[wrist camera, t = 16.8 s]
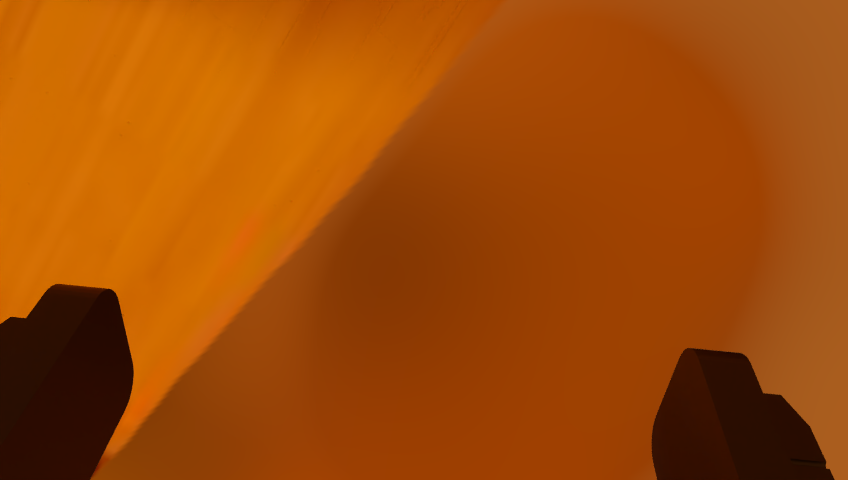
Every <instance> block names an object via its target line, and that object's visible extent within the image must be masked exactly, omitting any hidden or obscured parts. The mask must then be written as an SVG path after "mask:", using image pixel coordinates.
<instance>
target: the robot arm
mask: <svg viewBox="0 0 848 480" xmlns="http://www.w3.org/2000/svg"><path fill="white" fill-rule="evenodd" d="M133 374H134V371H133V362H132V358H131V353H130V349H129V344H128V340H127V336H126V331H125V327H124V322H123V318H122V314H121V309H120V305H119V301H118V297H117V295H116V293H115V292H114V291H113V290H111V289H105V288H95V287H84V286H74V285H64V284H55V285H53V286H51V287H50V288H49V289H48V290H47V291H46V292H45V293H44V295H43V296H42V297H41V299H40V300H39V301H38V303H37V304H36V305H35V307H34V308H33V310H32V311H31V312H30V314H29V315H28V316H27V318H17V317H10V318H8V319H7V320H6V321H4V322H3V323H1V324H0V480H90V479H91V477H92V475H93V473H94V471H95V469H96V467H97V465H98V463H99V461H100V459H101V457H102V455H103V453H104V451H105V449H106V447H107V445H108V443H109V441H110V439H111V437H112V435H113V433H114V431H115V429H116V427H117V425H118V423H119V421H120V419H121V417H122V415H123V413H124V411H125V409H126V407H127V404H128V402H129V399H130V395H131V391H132V385H133ZM652 457H653V463H654V468H655V472H656V476H657V480H834V478H833V476H832V474H831V471H830V469H826V460H825V458H824V456H823V454H822V452H821V450H820V448H819V445H818V443H817V441H816V439H815V437H814V435H813V432H812V430H811V428H810V426H809V425H808V424H807V423H806V422H805V421H804V420H803V419H802V418H801V416H800V415H799V414H798V413H797V412H796V411H795V410H794V409H793V408H792V407H791V406H790V404H789V403H788V402H787V401H786V400H785V399H784V398H783V397H782V396H781V395H775V394H765V393H763V392H762V390H761V388H760V385H759V382H758V380H757V377H756V375H755V373H754V370H753V368H752V365H751V363H750V361H749V360H748V358H747V357H746V356H745V355H743V354H741V353H734V352H723V351H713V350H703V349H694V348H687V349H685V350H684V351H683V353H682V354H681V356H680V358H679V361H678V363H677V365H676V368H675V370H674V373H673V375H672V378H671V380H670V383H669V385H668V388H667V390H666V393H665V395H664V398H663V400H662V403H661V405H660V407H659V410H658V412H657V415H656V418H655V421H654V425H653V432H652Z"/></svg>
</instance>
